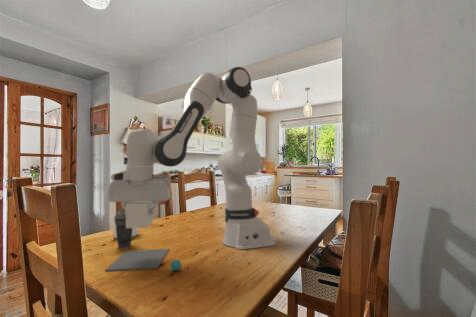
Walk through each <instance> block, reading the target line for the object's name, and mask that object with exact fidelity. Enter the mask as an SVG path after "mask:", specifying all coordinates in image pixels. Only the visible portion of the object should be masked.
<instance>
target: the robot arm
mask: <svg viewBox="0 0 476 317" xmlns="http://www.w3.org/2000/svg"><path fill="white" fill-rule="evenodd" d="M252 90H253V88H252V80H251V75H250V74H249V72H248V71H247V69H245V68H244V67H242V66H236V67H233V68H230V69H229V70H228V71H227V72H225V73H224V74H223V75H222V76H221V77H218V76H216V75H215V74H214V73H212V72H203V73H202V74H200V75H199V76H198V77H197V78H196V79H195V80H194V81H193V83H191V86H190V87H189V89H188V90H187V91H186V93H185V95H184V97H183V99H182V103H181V109H182V114H181V115H180V117H179V119H178V120H177V122H176V124H175V125H174V127H173V128H172V130H171V131H170V132H169V133H168V134H167V135H164V136H160V135H159V134H157V133H156V132H153V131H152V130H151V128H139V129H135V130H132V131H131V132H130V133H128V135H127V138H126V139H127V140H126V150H125V154H126V159H127V162H126V168H125V170H123V171H119V172H116V173H113V174H111V176H110V180H111V182H110V183H109V186H108V192H107V193H108V194H107V199H108V201H109V202H110V203H121V204H120V205H121V208H122V207H123V209H124V210H125V215H126V204H128V203H130V202H138V201H152V204H153V207H152V208H151V209H149V214H153V215H155V212H156V208H157V206H158V204H159V202H167V201H168V200H169V199H170V197H171V190H170V185H171V177H170V176H168V175H167V174H154V164H158V165H162V166H165V167H171V168H172V167H176V166H178V165H179V164H181V163H182V162H184V160H185V158H186V156H187V150H188V142H189V141H190V138H191V137H192V135H193V133H194V131H195V130H196V128H197V126H198V125H199V122H200V121H201V120H202V119H203V118H204V117H206V115H207V114H208V113H209V111H210V109H212V107H213V105H214V104H215V101H217V103H220V104H230V103H231V105H232V113H231V120H230V127H229V137H230V138H231V141H232V149H231V150H228V151H225V152H224V153H222V154H220V155H219V157H218V160H217V168H218V169H219V170H220V173H221V175H222V178H223V179H222V180H223V184H224V189H225V191H224V192H225V208H224V221H225V227H224V234H223V238H222V244H224V245H225V246H228V247H232V248H235V249H237V250H247V249H248V250H249V249H256V248H257V249H258V248H265V247H272V246H275V245H276V244H277V239H276V237H275V236H274V235H272V233H271V229H270V226H269V225H268V224H267V223H266V222H264V221H263V220H262V219H261V218H260V217H258V216H259V214H260V211H259V210H258V209H256V208H254V207H253V200H252V199H253V198H252V197H253V196H252V195H253V194H252V192H253V191H252V188H251V187H250V185H249V184H248V181H247V178H246V177H248V176H252V175H255V174H257V173H258V172H260V170H261V169H262V165H263V158H262V156H261V154H260V153H259V152H258V150H257V144H256V130H257V128H256V127H257V121H258V100H257V98H256V97H255V96H254V95H252V94H251V93H252Z"/></svg>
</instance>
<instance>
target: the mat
mask: <svg viewBox="0 0 476 317" xmlns="http://www.w3.org/2000/svg"><path fill="white" fill-rule="evenodd" d="M169 251H170V249H169V248H159V249H140V250H139V249H137V250H135V249H134V250H125V251H124V252H123V253H122V254H121V255H120V256H119V257H118V258H116V260H115V261H113V262H112V263H111V264H110V265H109V266H108V267H106V269H105V270H104V272H116V271H117V272H118V271H119V272H122V271H138V270H139V271H140V270H142V271H143V270H157V269H159V267H160V265H161V264H162V262H163V260H164V259H165V257H166V256H167V254H168V252H169Z"/></svg>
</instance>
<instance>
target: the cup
mask: <svg viewBox="0 0 476 317" xmlns="http://www.w3.org/2000/svg"><path fill="white" fill-rule="evenodd" d="M114 219H115V215H113V237H114V239H116V240H117V231H116V224H115V220H114ZM138 229H139V228H132V238H134V237H135V236H137V235H138V232H139V231H138Z"/></svg>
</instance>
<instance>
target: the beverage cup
mask: <svg viewBox="0 0 476 317" xmlns="http://www.w3.org/2000/svg"><path fill="white" fill-rule="evenodd" d="M114 216H115V219H114V218H113V221H114V220H115V224H116V231H117V239H116V240H117V241H116V242H117V248H118V249H120V250H121V249H122V250H123V249H128V248H130V247H131V244H132V238H133V237H132V228H126V215H125V210H124V209H123V207H122V206H121V208H120V209H119V210H117V211H116V213H115V215H114Z"/></svg>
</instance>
